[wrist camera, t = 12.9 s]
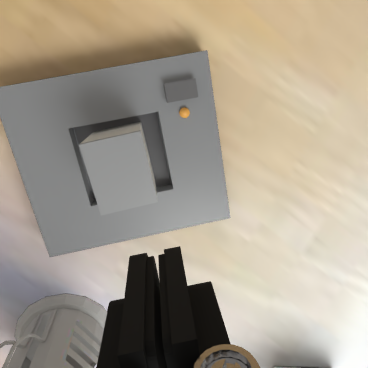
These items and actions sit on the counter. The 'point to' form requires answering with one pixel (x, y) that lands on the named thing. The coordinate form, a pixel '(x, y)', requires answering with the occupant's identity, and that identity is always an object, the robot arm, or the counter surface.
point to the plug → (119, 168)
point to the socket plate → (110, 118)
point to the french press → (58, 334)
